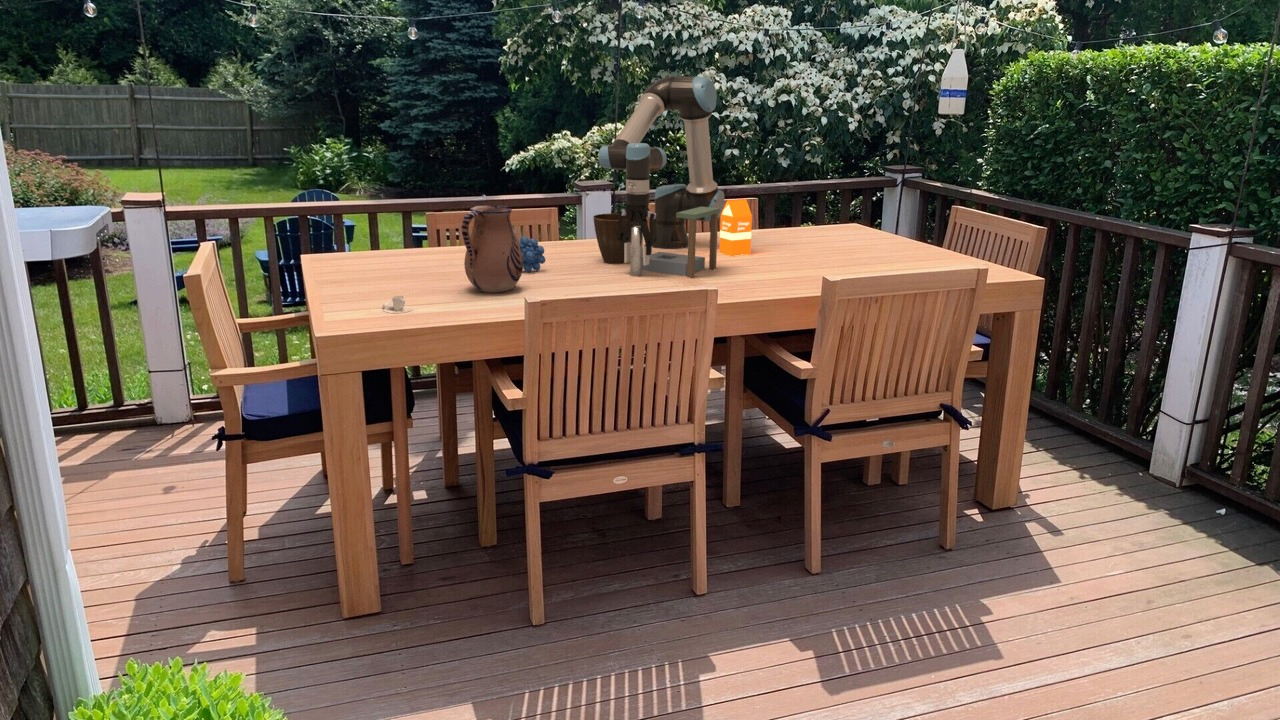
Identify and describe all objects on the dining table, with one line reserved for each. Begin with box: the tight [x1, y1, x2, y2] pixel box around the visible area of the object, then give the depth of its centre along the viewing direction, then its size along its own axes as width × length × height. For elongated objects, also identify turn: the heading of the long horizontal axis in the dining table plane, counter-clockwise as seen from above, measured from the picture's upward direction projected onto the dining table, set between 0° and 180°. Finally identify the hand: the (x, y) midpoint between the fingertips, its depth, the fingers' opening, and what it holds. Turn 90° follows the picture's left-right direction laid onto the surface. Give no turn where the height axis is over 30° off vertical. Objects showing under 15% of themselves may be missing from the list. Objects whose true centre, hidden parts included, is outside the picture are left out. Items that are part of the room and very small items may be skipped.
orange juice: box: [718, 198, 753, 257], centre depth 340 cm, size 8×9×20 cm
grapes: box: [518, 235, 547, 273], centre depth 305 cm, size 12×7×12 cm, turn 110°
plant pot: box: [592, 213, 637, 265], centre depth 323 cm, size 15×15×16 cm
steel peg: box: [630, 225, 644, 277], centre depth 302 cm, size 4×4×16 cm
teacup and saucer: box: [382, 295, 414, 314], centre depth 256 cm, size 9×8×4 cm
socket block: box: [643, 251, 706, 277], centre depth 313 cm, size 18×14×4 cm
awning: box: [676, 207, 720, 279], centre depth 306 cm, size 7×18×21 cm, turn 149°
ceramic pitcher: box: [461, 204, 524, 294], centre depth 276 cm, size 18×21×25 cm
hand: (636, 263), depth 303 cm, fingers open, 6 cm apart
